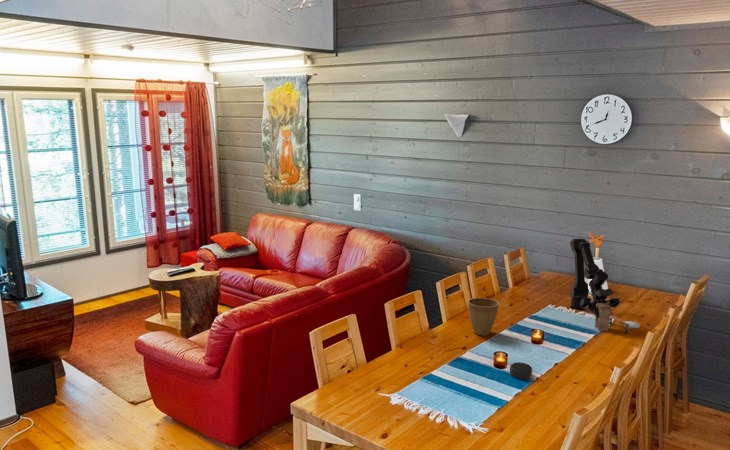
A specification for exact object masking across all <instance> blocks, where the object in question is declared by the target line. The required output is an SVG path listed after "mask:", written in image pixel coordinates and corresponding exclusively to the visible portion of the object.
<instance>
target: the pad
mask: <svg viewBox="0 0 730 450" xmlns="http://www.w3.org/2000/svg"><path fill="white" fill-rule="evenodd" d="M624 322H625V323H628V324H629V327H628V329H629V328H630V329H640V328H641V324H640V323H639V322H636V321H627V320H626V321H624ZM623 326H624V327H626V325H623Z"/></svg>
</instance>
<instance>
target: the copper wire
mask: <svg viewBox="0 0 730 450" xmlns="http://www.w3.org/2000/svg"><path fill="white" fill-rule="evenodd" d="M613 320H616V321H617V323H618V324H621V325H623V326H624V325H626V326H625V329H624V330H623V331H622V332H623V333H625V334H630V333H631V331H630V330H629V324H628V323H625V322H626V321H622V320H621V319H620V318H619V317H617V316H615V315H610V320H609V324H610V325H609V326H614V325H615V323H614V322H613Z"/></svg>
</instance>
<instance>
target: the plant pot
mask: <svg viewBox="0 0 730 450" xmlns="http://www.w3.org/2000/svg"><path fill="white" fill-rule="evenodd" d="M467 304H468V313H469V314H468V315H469V319H470V323H471V327H472V330H473V333H474V334H475V335H478V336H489V335H490V333H491V330H492V328H493V326H494V324H495V321H496V319H497V318H496V317H497V313H498V309H499V306H500V303H499V301H497V300H495V299H491V298H488V297H487V298H485V297H475V298H470V299H468V300H467Z"/></svg>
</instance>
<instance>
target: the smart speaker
mask: <svg viewBox="0 0 730 450" xmlns="http://www.w3.org/2000/svg"><path fill="white" fill-rule="evenodd" d="M509 374H510V375H511V376H512V377H514V378H517V379H520V380H521V379H522V380H525V379H529V378H531V377H532V375H533V367H532V366H531V365H530V364H528V363H525V362H518V361H517V362H514V363H511V364H510V366H509Z"/></svg>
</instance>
